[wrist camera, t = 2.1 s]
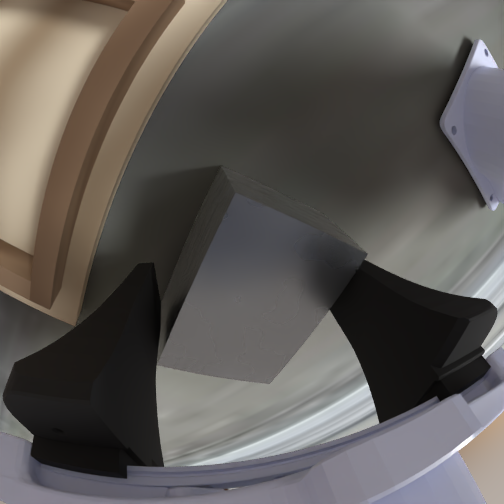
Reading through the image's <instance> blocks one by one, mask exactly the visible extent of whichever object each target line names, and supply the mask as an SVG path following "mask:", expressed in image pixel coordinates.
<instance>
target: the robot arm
mask: <svg viewBox="0 0 504 504" xmlns="http://www.w3.org/2000/svg"><path fill="white" fill-rule="evenodd" d="M440 127H441V129H442V131H443V132H444V134H445V135H446V137H447V138H448V139H449V141H450V142H451V144H452V145H453V147H454V148H455V150H456V151H457V153H458V154H459V156H460V158H461V159H462V161H463V162H464V164H465V166H466V167H467V169H468V171H469V172H470V174H471V176H472V178H473V179H474V181H475V183H476V185H477V186H478V188H479V190H480V192H481V194H482V196H483V198H484V200H485V202H486V204H487V206H488V208H489V209H490V210H492V211H494V210H495V209H496V207H497V205H498V203H499V201H500V202H501V203H503V204H504V69H500V68H498V67H497V65H496V63H495V61H494V59H493V57H492V56H491V54H490V52H489V50H488V49H487V47H486V45H485V44H484V42H483V41H482V40H481V39H475V41H474V44H473V46H472V49H471V52H470V54H469V57H468V59H467V62H466V64H465V66H464V69H463V71H462V73H461V76H460V78H459V80H458V82H457V85H456V87H455V89H454V91H453V93H452V95H451V98H450V100H449V102H448V104H447V106H446V108H445V110H444V112H443V114H442V116H441V118H440ZM451 129H452V131H451ZM330 311H331V312H332V314H333V316H334V317H335V319H336V321H337V322H338V324H339V326H340V327H341V329H342V330H343V332H344V334H345V335H346V337H347V339H348V340H349V342H350V344H351V345H352V347H353V349H354V351H355V353H356V355H357V357H358V360H359V362H360V364H361V367H362V369H363V372H364V374H365V377H366V380H367V382H368V385H369V388H370V391H371V394H372V397H373V400H374V404H375V407H376V411H377V415H378V419H379V424H378V425H375V426H373V427H370V428H367V429H365V430H362V431H360V432H357V433H354V434H351V435H348V436H346V437H343V438H340V439H336V440H333V441H330V442H327V443H324V444H320V445H317V446H313V447H309V448H306V449H302V450H298V451H294V452H289V453H285V454H280V455H276V456H271V457H265V458H260V459H254V460H248V461H241V462H233V463H225V464H215V465H203V466H185V467H164V463H163V457H162V451H161V444H160V436H159V428H158V417H157V403H156V365H157V356H158V347H159V338H160V330H161V301H160V296H159V290H158V285H157V279H156V274H155V268H154V263H140V264H138V265H137V266H136V267H135V268H134V270H133V271H132V272H131V273H130V274H129V275H128V277H127V278H126V279H125V280H124V281H123V282H122V284H121V285H120V286H119V287H118V288H117V289H116V290H115V291H114V293H113V294H112V295H111V296H110V297H109V298H108V299H107V300H106V301H105V302H104V303H103V304H102V305H101V306H100V307H99V308H98V309H97V310H96V311H95V312H94V313H92V314H91V315H90V316H89V317H88V318H87V319H85V320H84V321H83V322H82V323H81V324H79V325H78V326H77V327H75V328H74V329H72V330H71V331H70V332H68V333H67V334H66V335H64V336H63V337H61V338H60V339H58V340H57V341H55V342H54V343H52V344H50V345H49V346H47V347H45V348H43V349H42V350H40V351H38V352H36V353H34V354H32V355H30V356H28V357H26V358H24V359H21V360H19V361H17V362H15V364H14V366H13V368H12V371H11V374H10V376H9V379H8V382H7V384H6V387H5V390H4V393H3V401H4V403H5V405H6V407H7V409H8V410H9V411H10V412H11V414H12V415H13V416H14V417H15V418H16V419H17V420H18V421H19V422H20V423H21V424H22V425H23V426H24V427H26V428H27V429H28V430H29V431H30V432H31V433H32V434H33V435H34V438H33V443H31V442H29V441H27V440H25V439H23V438H20V437H17V436H13V435H10V434H7V433H4V432H0V500H1V501H3V502H5V503H7V504H487V503H486V501H485V499H484V497H483V495H482V494H481V492H480V490H479V488H478V486H477V484H476V482H475V480H474V479H473V477H472V475H471V473H470V471H469V470H468V468H467V466H466V464H465V462H464V461H463V459H462V457H461V456H460V454H459V452H458V450H460V449H461V448H462V447H464V446H465V445H466V444H468V443H469V442H470V441H471V440H472V439H473V438H475V437H476V436H477V435H478V434H479V433H481V432H482V431H483V430H484V429H485V428H486V427H487V426H488V425H490V424H491V423H492V422H493V421H494V420H495V419H496V418H497V417H498V416H499V415H500V414H501V413H502V412H503V411H504V350H503V348H502V347H501V348H499V349H497V350H496V351H495V352H493V353H492V354H490V355H489V356H488V357H487V358H486V360H485V359H484V357H483V356H482V355H483V354H484V352H485V351H484V349H483V348H482V347H481V345H482V343H483V342H484V340H485V338H486V337H487V335H488V333H489V332H490V330H491V328H492V327H493V325H494V323H495V320H496V318H497V308H496V307H495V306H494V305H493V304H492V303H491V302H490V301H488V300H486V299H480V298H471V297H463V296H458V295H453V294H449V293H445V292H441V291H437V290H434V289H430V288H427V287H424V286H421V285H419V284H416V283H413V282H411V281H408V280H406V279H403V278H401V277H399V276H397V275H394V274H392V273H390V272H388V271H386V270H384V269H382V268H380V267H378V266H376V265H374V264H372V263H370V262H368V261H366V260H364V261H363V262H362V264H361V265H360V267H359V268H358V270H357V271H356V273H355V274H354V276H353V277H352V278H351V280H350V281H349V283H348V284H347V286H346V287H345V289H344V290H343V291H342V293H341V294H340V296H339V297H338V298H337V300H336V301H335V303H334V304H333V305H332V307H331V308H330ZM245 486H246V487H245ZM238 487H241V488H238ZM230 488H236V489H231V490H224V489H230Z"/></svg>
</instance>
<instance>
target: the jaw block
mask: <svg viewBox="0 0 504 504" xmlns="http://www.w3.org/2000/svg"><path fill="white" fill-rule="evenodd" d="M366 256H367V253H366V252H365V251H364V250H363V249H362V248H361V247H360V246H359V245H358V244H357V243H355V242H354V241H353V240H352V239H351V238H350V237H349V236H348V235H347V234H346V233H344V232H343V231H342V230H341V229H340V228H339V227H338V226H337V225H336V224H334V223H333V222H332V221H331V220H330V219H329V218H328V217H326V216H325V215H324V214H323V213H321V212H319V211H317V210H315V209H313V208H311V207H309V206H307V205H305V204H303V203H301V202H299V201H297V200H295V199H293V198H291V197H289V196H287V195H285V194H283V193H281V192H279V191H277V190H275V189H273V188H270V187H268V186H266V185H264V184H262V183H260V182H257V181H255V180H253V179H251V178H249V177H246V176H244V175H242V174H240V173H238V172H235V171H233V170H231V169H228V168H226V167H224V166H222V165H221V166H220V168H219V170H218V172H217V174H216V176H215V178H214V180H213V183H212V185H211V187H210V189H209V191H208V193H207V195H206V197H205V200H204V202H203V204H202V206H201V208H200V211H199V213H198V215H197V217H196V219H195V222H194V224H193V226H192V228H191V231H190V233H189V235H188V238H187V240H186V242H185V245H184V247H183V249H182V252H181V254H180V257H179V259H178V261H177V264H176V266H175V269H174V271H173V274H172V276H171V279H170V281H169V284H168V286H167V289H166V291H165V294H164V296H163V299H162V302H161V330H160V338H159V347H158V356H157V365H159V366H164V367H168V368H173V369H177V370H182V371H187V372H192V373H197V374H203V375H208V376H214V377H220V378H227V379H234V380H241V381H248V382H257V383H266V384H270V383H271V382H272V381H273V379H274V378H275V377H276V376H277V375H278V374H279V373H280V371H281V370H282V369H283V368H284V367H285V365H286V364H287V363H288V362H289V361H290V359H291V358H292V357H293V356H294V355H295V353H296V352H297V351H298V350H299V348H300V347H301V346H302V345H303V343H304V342H305V341H306V340H307V338H308V337H309V336H310V335H311V333H312V332H313V331H314V329H315V328H316V327H317V325H318V324H319V323H320V322H321V320H322V319H323V318H324V316H325V315H326V314H327V312H328V311H329V309H330V308H331V307H332V305H333V304H334V303H335V301H336V300H337V298H338V297H339V296H340V294H341V293H342V291H343V290H344V289H345V287H346V286H347V284H348V283H349V281H350V280H351V278H352V277H353V276H354V274H355V273H356V271H357V270H358V268H359V267H360V265H361V264H362V262H363V261H364V259H365V258H366Z"/></svg>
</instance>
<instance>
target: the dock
mask: <svg viewBox="0 0 504 504" xmlns="http://www.w3.org/2000/svg"><path fill="white" fill-rule="evenodd" d="M227 1H228V0H0V290H1V291H3V292H4V293H6V294H8V295H10V296H12V297H14V298H15V299H17V300H19V301H21V302H23V303H25V304H27V305H29V306H31V307H33V308H35V309H37V310H39V311H41V312H44V313H46V314H48V315H50V316H52V317H54V318H57V319H59V320H61V321H64V322H66V323H68V324H71V325H73V326H75V325H76V322H77V320H78V317H79V315H80V312H81V309H82V304H83V299H84V295H85V291H86V286H87V282H88V278H89V274H90V271H91V267H92V263H93V260H94V256H95V253H96V249H97V246H98V243H99V240H100V236H101V233H102V230H103V227H104V224H105V221H106V218H107V215H108V213H109V210H110V207H111V204H112V202H113V199H114V196H115V194H116V191H117V189H118V186H119V184H120V181H121V179H122V176H123V174H124V171H125V169H126V167H127V164H128V162H129V160H130V158H131V155H132V153H133V151H134V149H135V147H136V145H137V143H138V140H139V138H140V136H141V134H142V132H143V130H144V128H145V126H146V124H147V122H148V120H149V118H150V116H151V115H152V113H153V111H154V109H155V107H156V105H157V103H158V102H159V100H160V98H161V96H162V95H163V93H164V91H165V89H166V88H167V86H168V84H169V83H170V81H171V79H172V78H173V76H174V74H175V73H176V71H177V69H178V68H179V66H180V65H181V63H182V62H183V60H184V59H185V57H186V56H187V54H188V53H189V51H190V50H191V48H192V47H193V45H194V44H195V42H196V41H197V40H198V38H199V37H200V35H201V34H202V33H203V31H204V30H205V29H206V27H207V26H208V25H209V23H210V22H211V21H212V19H213V18H214V17H215V15H216V14H217V13H218V12H219V10H220V9H221V8H222V7H223V5H224V4H225V3H226V2H227Z"/></svg>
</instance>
